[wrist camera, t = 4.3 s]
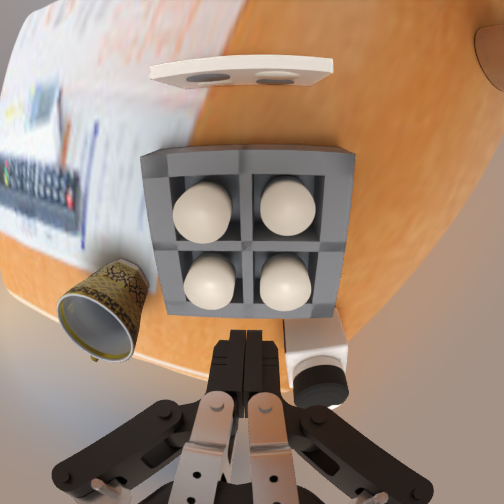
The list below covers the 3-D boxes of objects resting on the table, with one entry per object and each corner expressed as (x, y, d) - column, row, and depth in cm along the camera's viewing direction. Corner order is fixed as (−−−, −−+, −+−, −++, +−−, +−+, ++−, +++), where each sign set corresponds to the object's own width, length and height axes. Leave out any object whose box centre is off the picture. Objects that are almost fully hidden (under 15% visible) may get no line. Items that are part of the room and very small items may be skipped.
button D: (235, 252, 26) (231, 269, 24) (237, 292, 28) (234, 310, 26) (188, 252, 26) (180, 268, 24) (193, 290, 29) (187, 308, 26)
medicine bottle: (282, 313, 35) (286, 391, 24) (336, 305, 34) (358, 380, 23) (287, 349, 38) (291, 421, 27) (335, 342, 37) (351, 412, 26)
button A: (311, 176, 24) (317, 184, 21) (308, 223, 26) (313, 236, 24) (260, 175, 24) (260, 183, 22) (260, 222, 26) (260, 235, 24)
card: (310, 76, 22) (332, 58, 14) (310, 87, 22) (333, 74, 14) (185, 80, 22) (149, 66, 14) (185, 90, 23) (150, 81, 15)
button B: (308, 253, 26) (313, 269, 23) (304, 292, 28) (308, 311, 25) (260, 252, 26) (260, 269, 24) (260, 292, 28) (259, 311, 26)
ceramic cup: (100, 234, 30) (55, 277, 22) (170, 267, 32) (140, 323, 23) (91, 305, 36) (60, 350, 27) (148, 333, 38) (126, 385, 29)
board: (339, 147, 25) (355, 154, 20) (324, 290, 33) (332, 317, 28) (160, 149, 26) (140, 157, 21) (178, 288, 34) (167, 314, 29)
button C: (232, 179, 23) (227, 188, 20) (234, 229, 25) (230, 243, 22) (180, 181, 23) (169, 190, 21) (185, 229, 25) (176, 243, 23)
